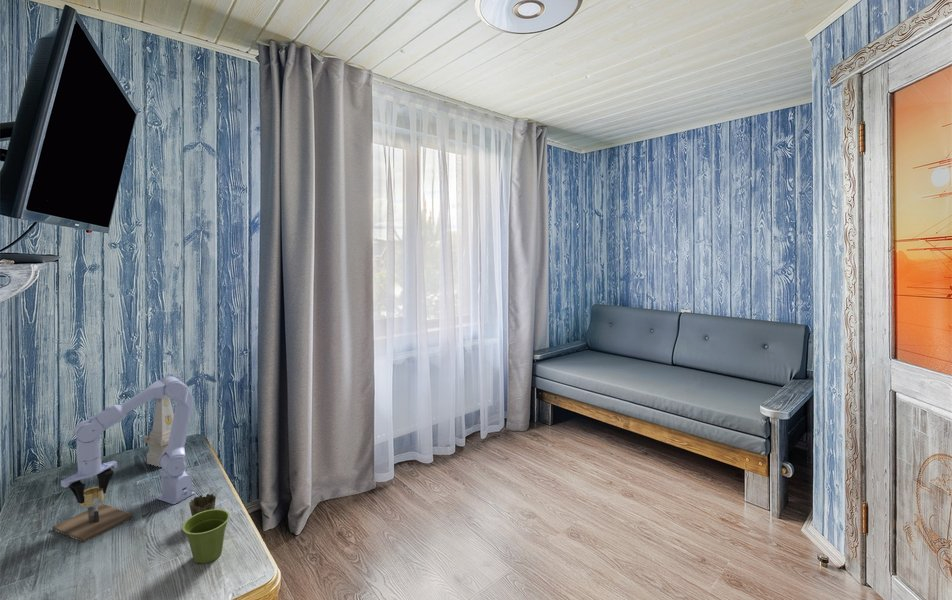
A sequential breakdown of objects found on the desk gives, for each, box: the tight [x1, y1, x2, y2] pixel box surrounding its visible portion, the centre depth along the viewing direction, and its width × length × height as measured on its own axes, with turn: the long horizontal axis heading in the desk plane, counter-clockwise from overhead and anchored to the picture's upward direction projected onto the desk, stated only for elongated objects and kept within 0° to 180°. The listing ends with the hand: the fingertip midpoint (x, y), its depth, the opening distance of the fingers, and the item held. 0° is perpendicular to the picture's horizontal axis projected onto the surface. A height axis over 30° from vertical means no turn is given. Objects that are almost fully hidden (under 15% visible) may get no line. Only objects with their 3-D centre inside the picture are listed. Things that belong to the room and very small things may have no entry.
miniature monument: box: [143, 395, 175, 468], centre depth 185 cm, size 10×10×30 cm
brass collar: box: [79, 486, 105, 508], centre depth 143 cm, size 6×6×4 cm
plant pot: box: [181, 508, 230, 564], centre depth 129 cm, size 12×12×11 cm
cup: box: [189, 493, 217, 517], centre depth 145 cm, size 8×7×8 cm
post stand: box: [51, 503, 134, 542], centre depth 143 cm, size 16×14×6 cm
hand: (92, 497), depth 143 cm, fingers closed on brass collar, 6 cm apart
